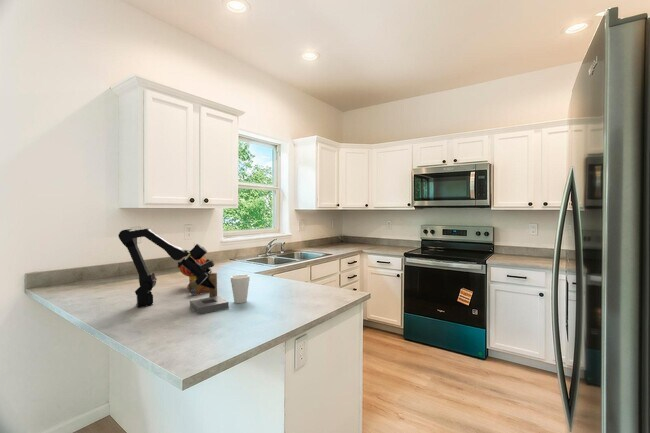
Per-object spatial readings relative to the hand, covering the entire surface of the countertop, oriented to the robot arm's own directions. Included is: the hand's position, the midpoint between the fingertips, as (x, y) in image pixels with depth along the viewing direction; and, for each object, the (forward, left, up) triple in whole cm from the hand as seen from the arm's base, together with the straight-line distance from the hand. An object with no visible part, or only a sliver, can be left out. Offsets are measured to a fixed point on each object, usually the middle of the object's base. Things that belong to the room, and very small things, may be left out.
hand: (215, 286), depth 166 cm
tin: (-2, +19, -7) cm, 20 cm away
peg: (-1, +1, -7) cm, 7 cm away
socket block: (-7, -11, -7) cm, 15 cm away
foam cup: (+9, -11, -7) cm, 16 cm away
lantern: (0, +38, -7) cm, 38 cm away
